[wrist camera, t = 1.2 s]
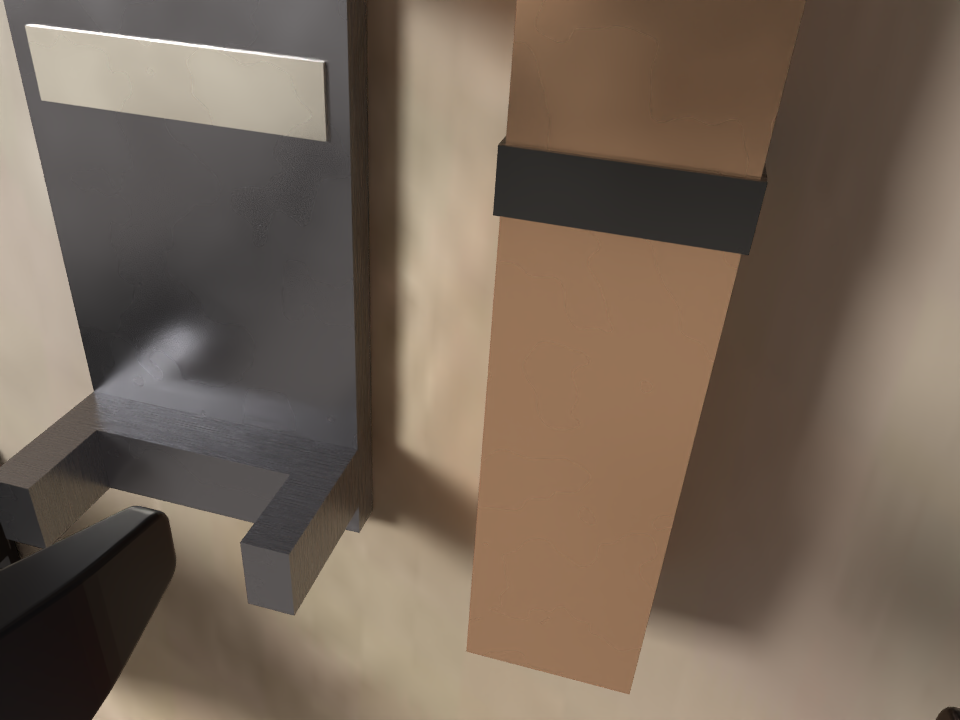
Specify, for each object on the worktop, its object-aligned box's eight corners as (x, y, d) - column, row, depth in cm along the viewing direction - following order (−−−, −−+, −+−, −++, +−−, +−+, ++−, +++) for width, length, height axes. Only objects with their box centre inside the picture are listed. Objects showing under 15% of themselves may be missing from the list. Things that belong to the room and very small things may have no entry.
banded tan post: (501, 535, 23) (461, 653, 20) (580, -242, 13) (529, -282, 10) (647, 570, 22) (632, 698, 19) (842, -231, 13) (884, -269, 9)
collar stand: (133, 453, 25) (15, 566, 21) (-20, -269, 16) (-288, -324, 12) (372, 509, 24) (296, 643, 19) (362, -252, 14) (212, -307, 10)
